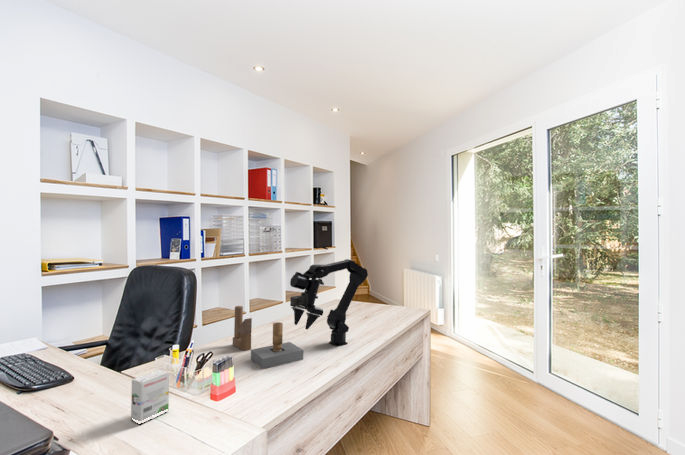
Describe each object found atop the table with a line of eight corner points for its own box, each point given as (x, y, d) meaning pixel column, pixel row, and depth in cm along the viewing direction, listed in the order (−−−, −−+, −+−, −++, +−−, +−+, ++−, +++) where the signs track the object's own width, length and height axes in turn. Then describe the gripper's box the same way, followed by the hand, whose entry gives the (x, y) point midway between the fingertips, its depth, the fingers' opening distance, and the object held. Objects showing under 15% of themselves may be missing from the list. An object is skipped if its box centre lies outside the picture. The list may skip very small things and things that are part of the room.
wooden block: (244, 351, 152) (244, 310, 152) (232, 345, 160) (233, 306, 160) (251, 349, 155) (252, 309, 155) (239, 343, 162) (240, 305, 162)
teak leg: (281, 355, 146) (282, 322, 146) (282, 358, 143) (283, 324, 143) (271, 356, 145) (272, 322, 145) (272, 359, 141) (273, 325, 141)
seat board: (289, 350, 154) (289, 341, 154) (303, 359, 144) (303, 349, 144) (250, 359, 143) (250, 349, 143) (262, 369, 134) (262, 358, 134)
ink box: (159, 407, 104) (160, 368, 104) (169, 412, 102) (170, 372, 102) (130, 420, 97) (130, 378, 97) (140, 426, 94) (140, 383, 95)
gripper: (285, 285, 158) (275, 319, 155) (307, 291, 143) (296, 328, 140) (305, 290, 164) (295, 323, 161) (328, 296, 150) (318, 333, 147)
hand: (300, 326), depth 152 cm, fingers open, 9 cm apart
